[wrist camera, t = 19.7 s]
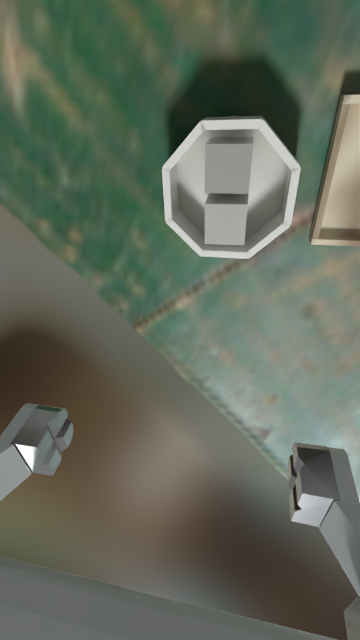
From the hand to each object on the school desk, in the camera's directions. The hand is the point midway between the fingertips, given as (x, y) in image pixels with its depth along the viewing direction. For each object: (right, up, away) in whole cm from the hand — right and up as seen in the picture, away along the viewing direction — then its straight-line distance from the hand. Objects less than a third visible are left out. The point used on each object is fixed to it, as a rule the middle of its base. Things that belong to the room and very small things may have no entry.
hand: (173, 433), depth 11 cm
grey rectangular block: (+5, +20, +20) cm, 29 cm away
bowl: (+6, +18, +22) cm, 29 cm away
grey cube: (+5, +16, +23) cm, 28 cm away
